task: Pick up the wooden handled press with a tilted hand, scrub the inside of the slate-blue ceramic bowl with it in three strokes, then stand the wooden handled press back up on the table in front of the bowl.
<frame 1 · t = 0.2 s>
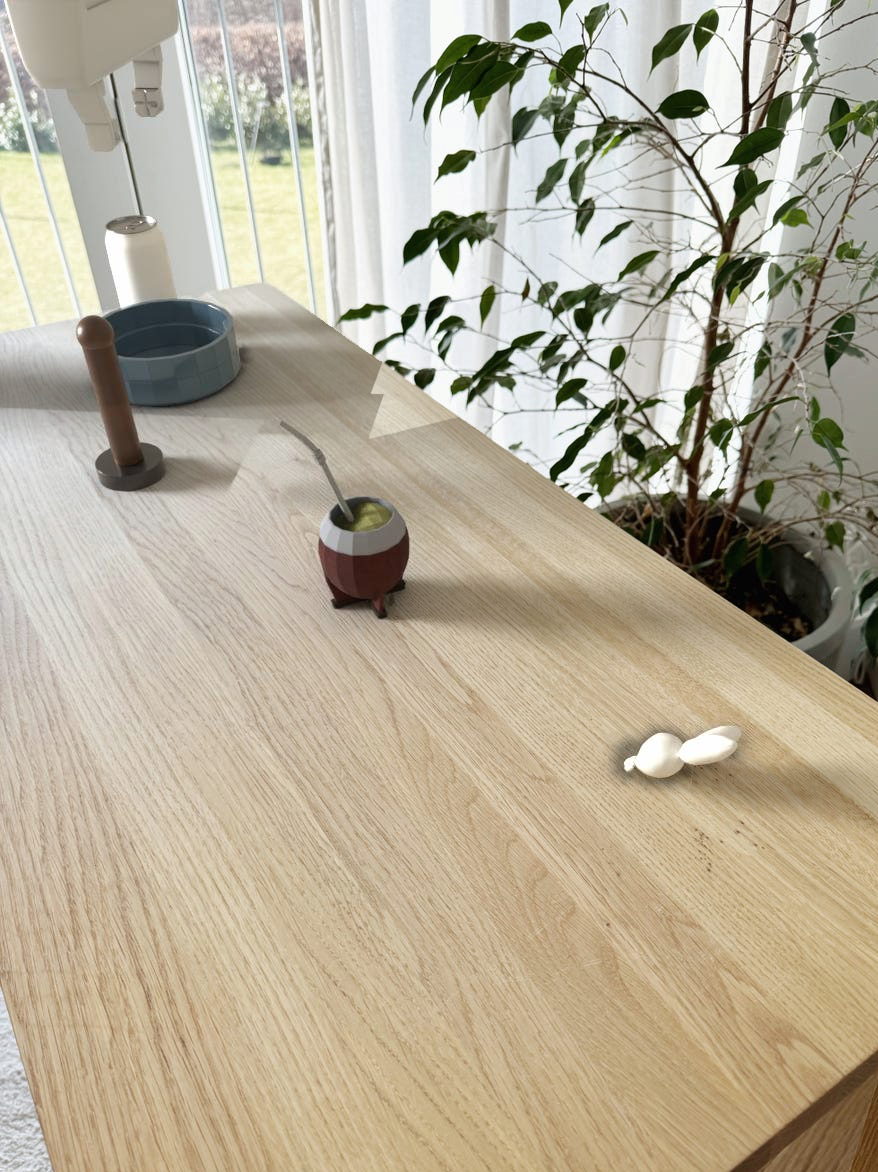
hand: (129, 131, 73), 31 cm above the table, tool pointing down, fingers open, 8 cm apart
wooden handled press: (136, 486, 94), on the table
bowl: (171, 375, 110), on the table
can: (154, 328, 120), on the table
rabbit figurine: (686, 779, 67), on the table
mate gourd: (363, 597, 82), on the table
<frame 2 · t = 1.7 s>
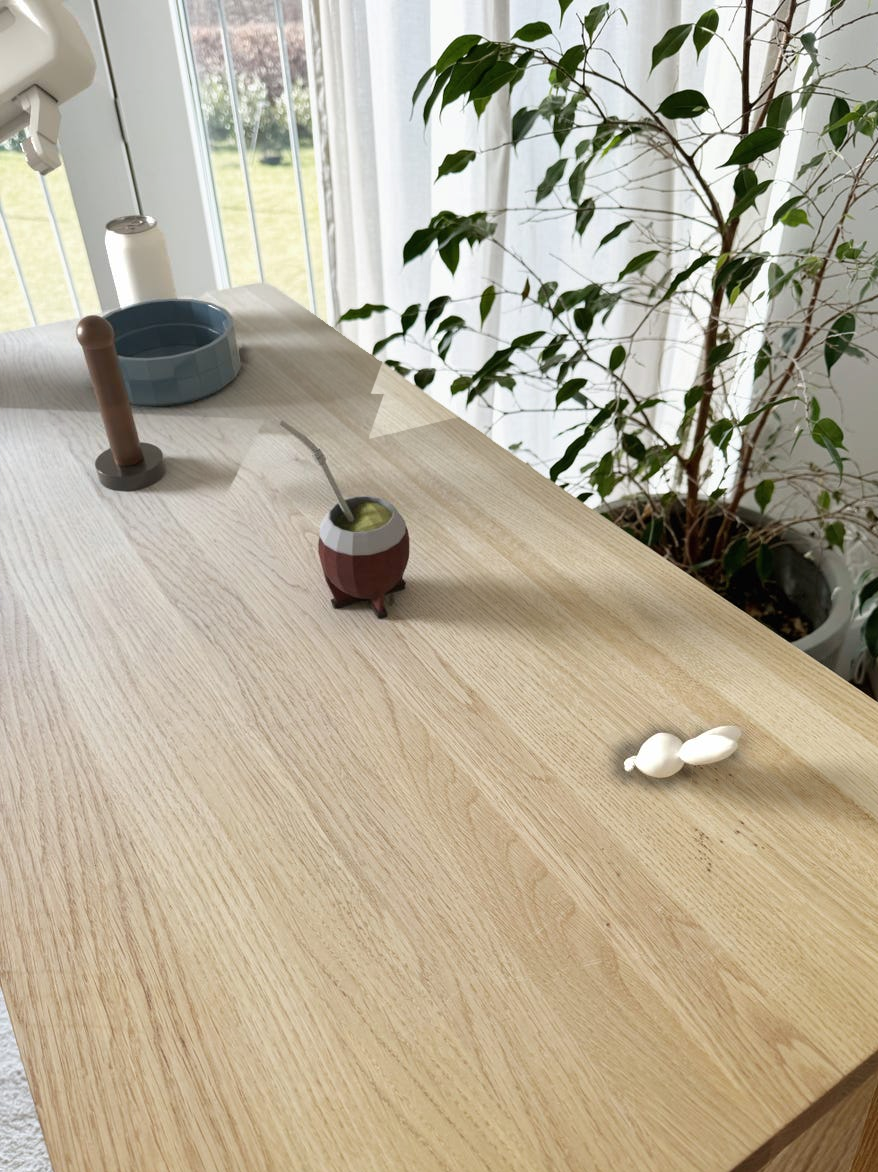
nothing on the table moved.
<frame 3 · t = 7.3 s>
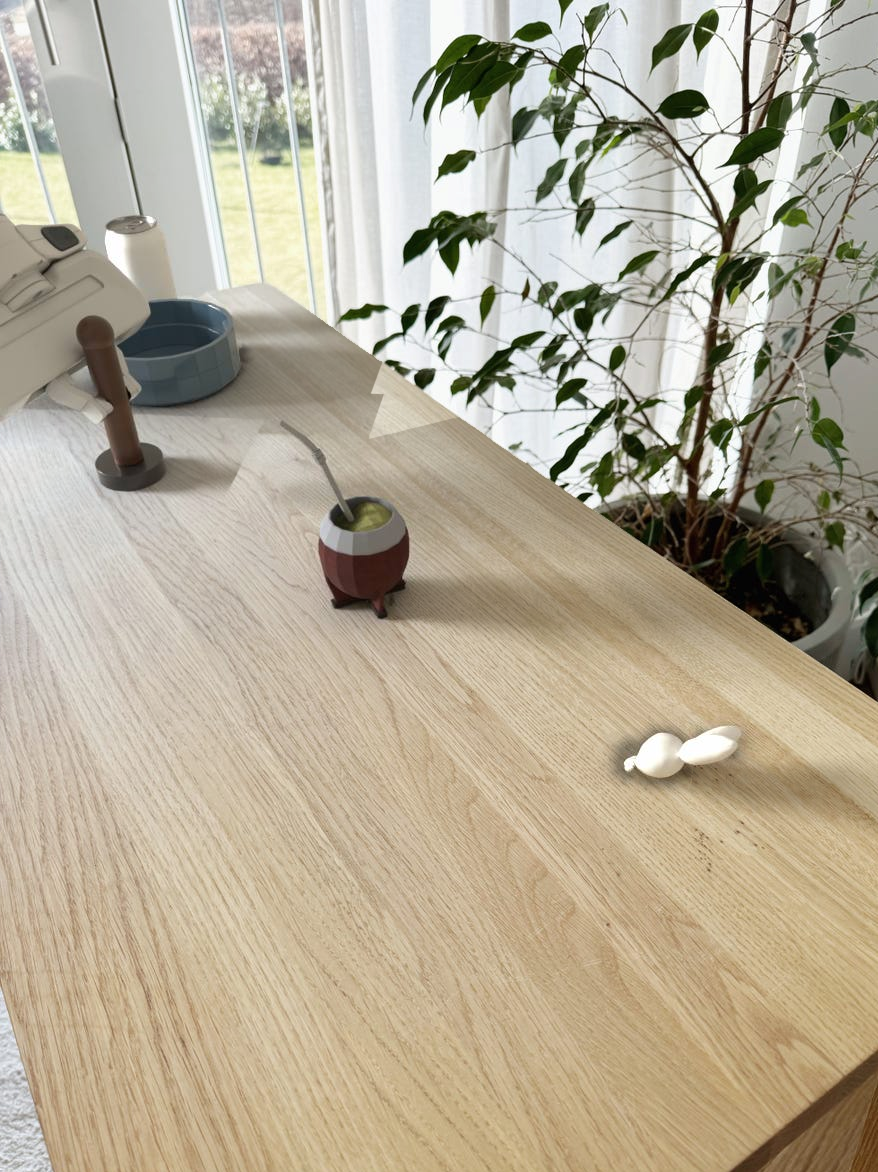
hand: (120, 406, 88), 8 cm above the table, tool tilted 45°, fingers closed on wooden handled press, 2 cm apart
wooden handled press: (136, 486, 94), on the table, touching gripper
everything else where it was.
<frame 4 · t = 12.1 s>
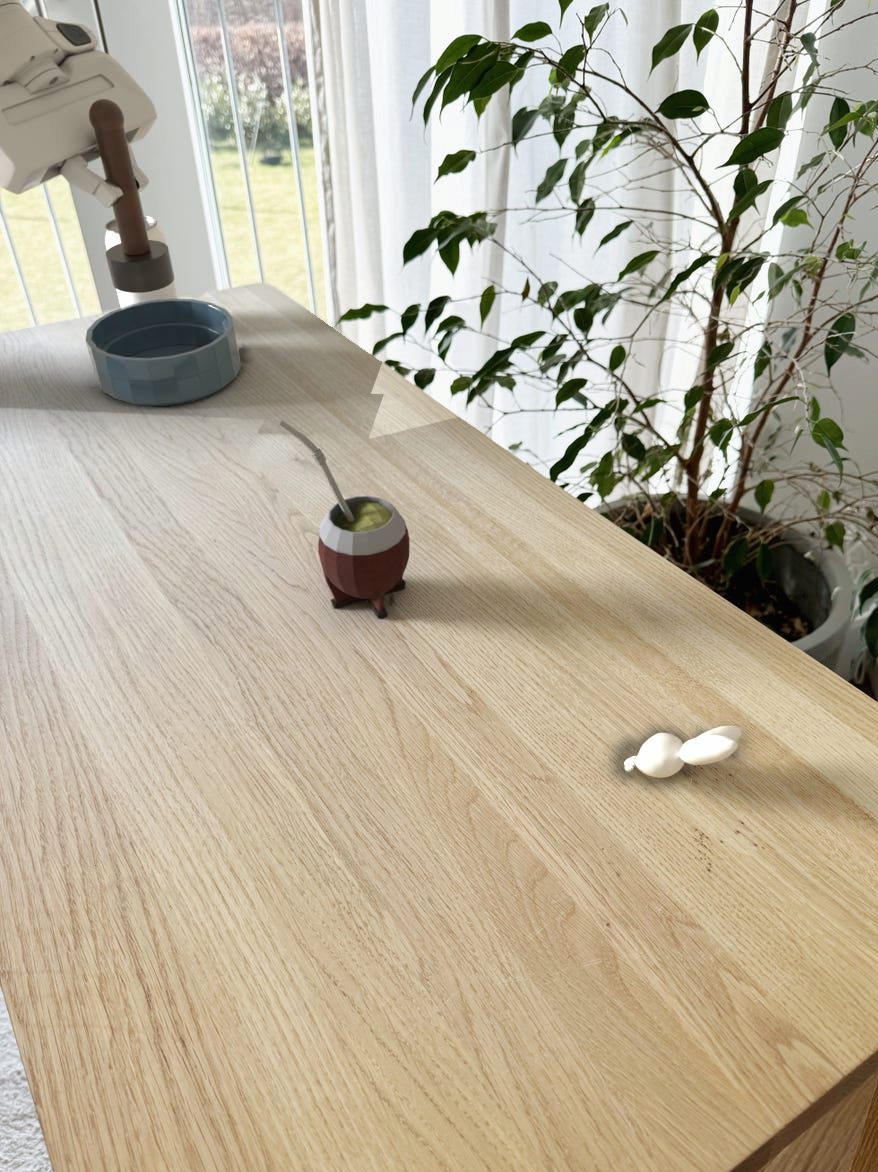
hand: (129, 195, 95), 20 cm above the table, tool tilted 45°, fingers closed on wooden handled press, 2 cm apart
wooden handled press: (143, 280, 101), point 12 cm above the table, touching gripper
everything else where it was.
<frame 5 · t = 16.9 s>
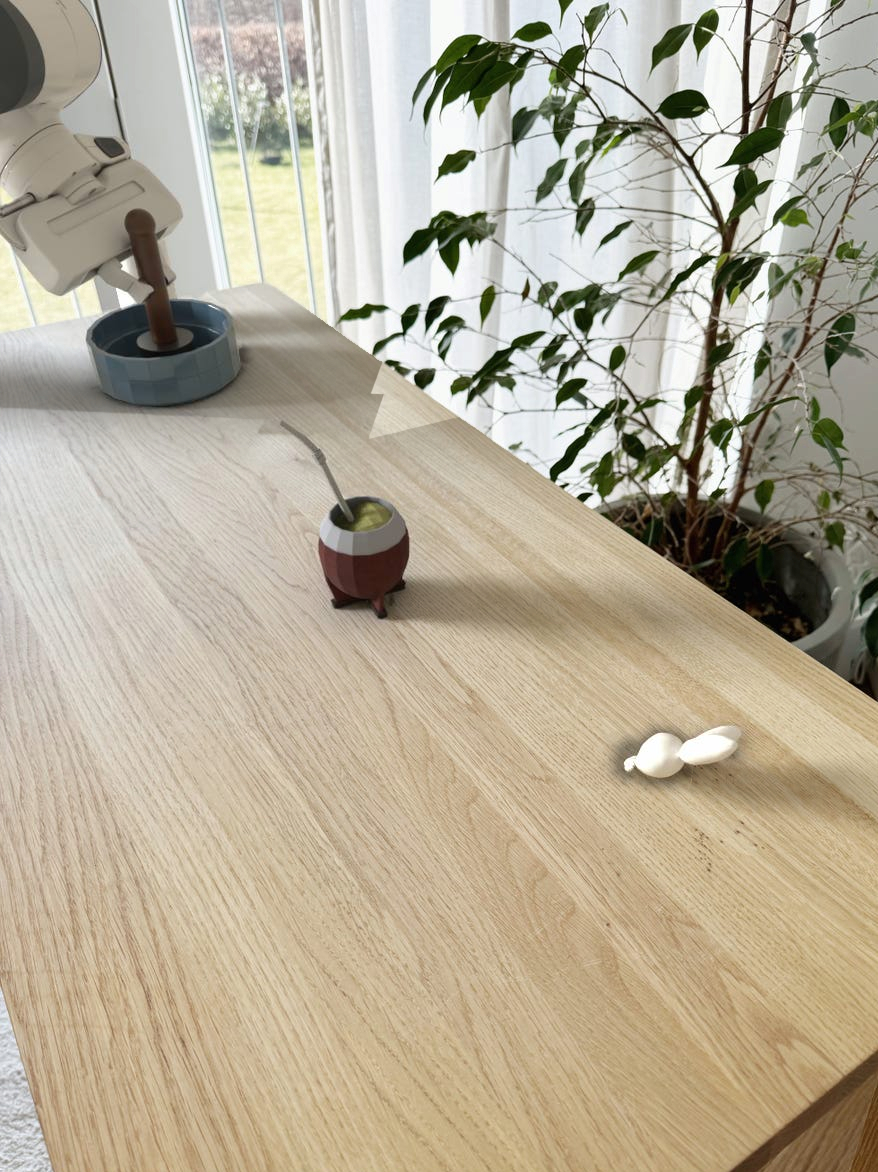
hand: (159, 290, 105), 9 cm above the table, tool tilted 45°, fingers closed on wooden handled press, 2 cm apart
wooden handled press: (170, 364, 110), point 1 cm above the table, touching gripper
everything else where it was.
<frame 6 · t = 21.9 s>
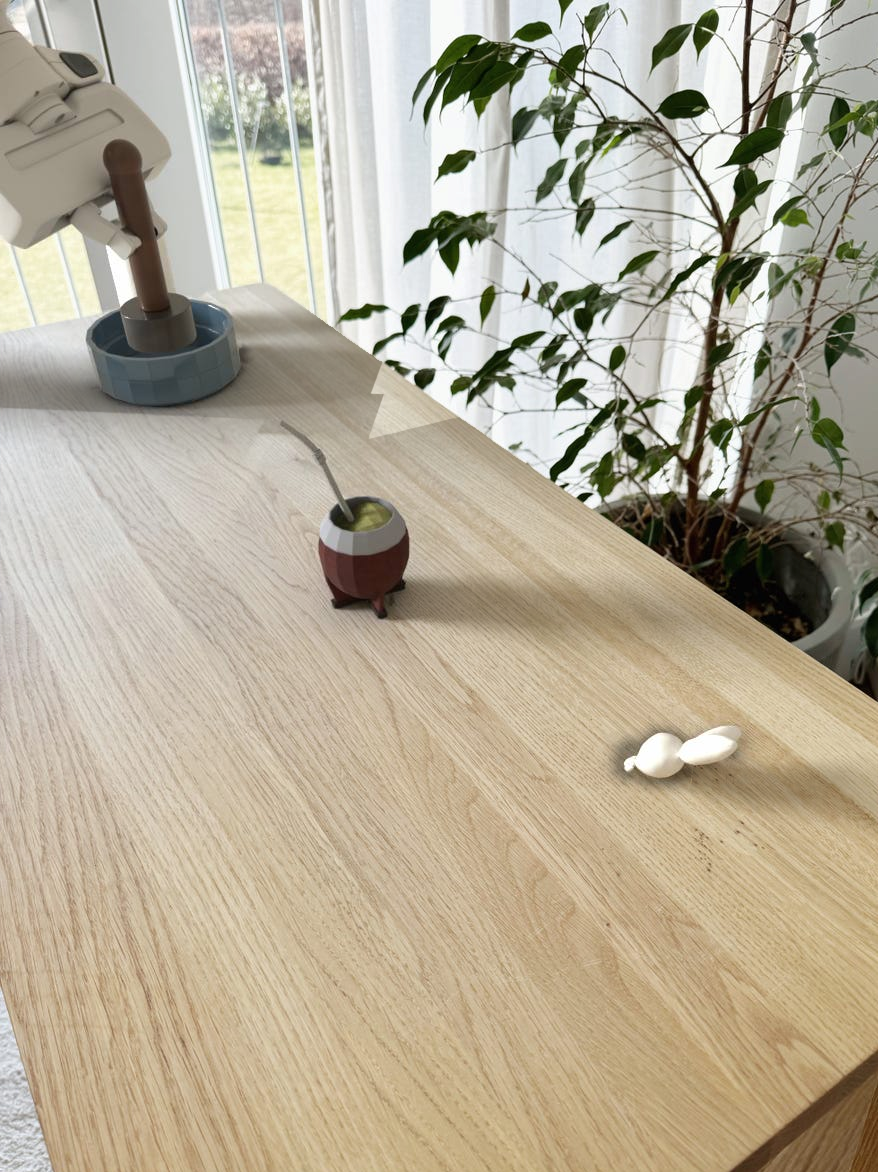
hand: (147, 244, 84), 20 cm above the table, tool tilted 45°, fingers closed on wooden handled press, 2 cm apart
wooden handled press: (162, 338, 90), point 12 cm above the table, touching gripper
everything else where it was.
when the fingers open (8 cm above the table, at t = 26.5 s): wooden handled press stays where it is, on the table.
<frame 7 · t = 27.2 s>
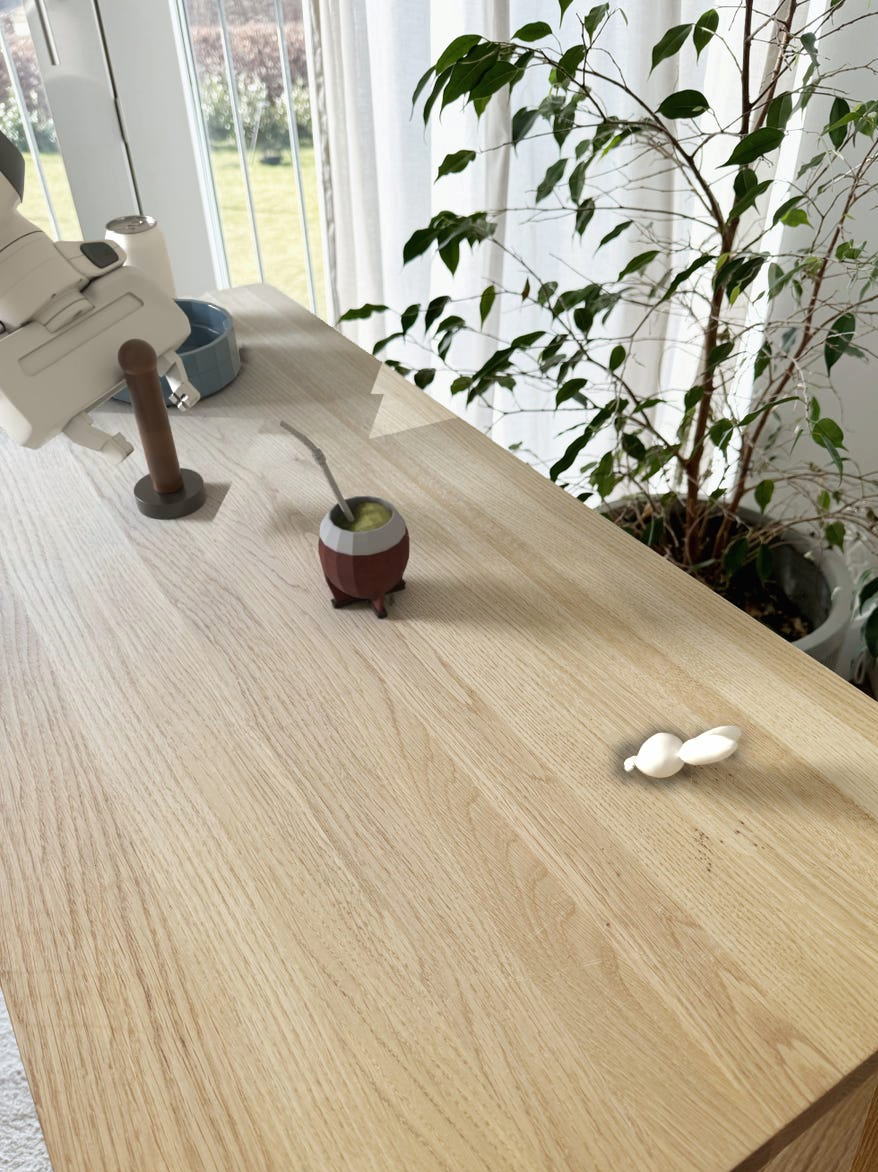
hand: (160, 430, 85), 9 cm above the table, tool tilted 45°, fingers open, 8 cm apart
wooden handled press: (175, 514, 90), on the table
everything else where it was.
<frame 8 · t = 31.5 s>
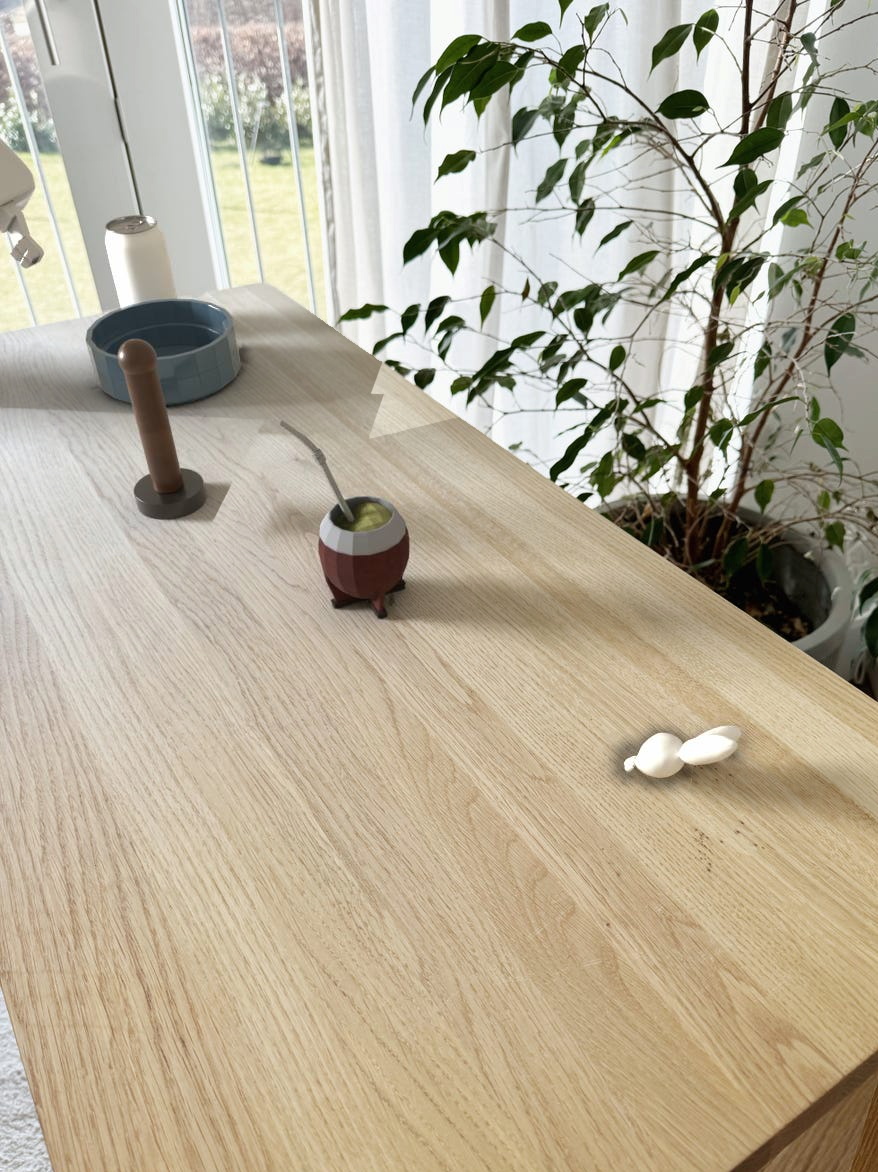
nothing on the table moved.
at the end: wooden handled press 0.1 cm from the target spot on the table beside the bowl, on the table; wooden handled press tilted 0°; the gripper is holding nothing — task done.
